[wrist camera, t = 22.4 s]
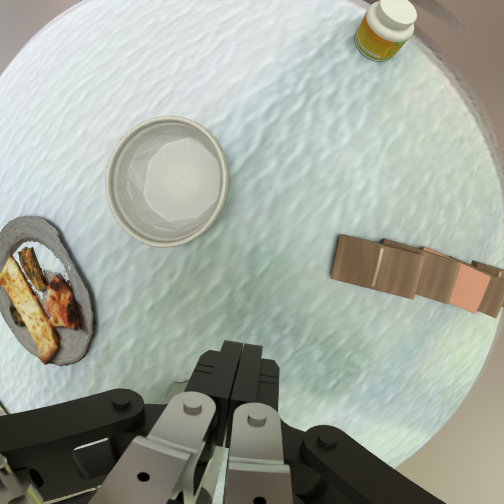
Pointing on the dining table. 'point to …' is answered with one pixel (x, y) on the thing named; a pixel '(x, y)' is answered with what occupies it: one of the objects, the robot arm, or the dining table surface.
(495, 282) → the domino
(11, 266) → the food plate
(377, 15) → the supplement bottle
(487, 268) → the domino
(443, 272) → the domino
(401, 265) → the domino
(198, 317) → the dining table surface
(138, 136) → the ramekin
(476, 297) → the domino
